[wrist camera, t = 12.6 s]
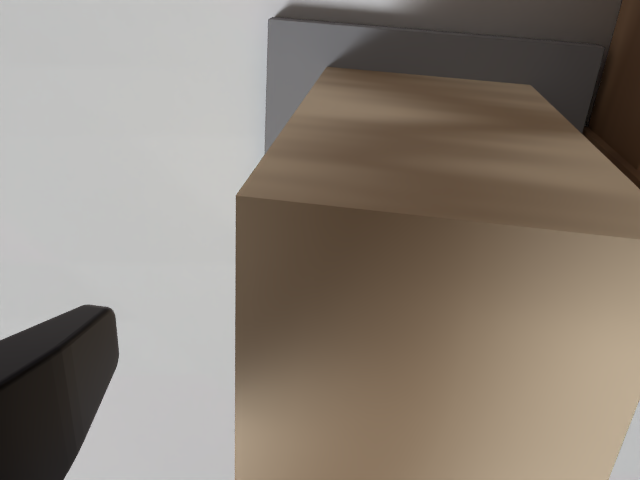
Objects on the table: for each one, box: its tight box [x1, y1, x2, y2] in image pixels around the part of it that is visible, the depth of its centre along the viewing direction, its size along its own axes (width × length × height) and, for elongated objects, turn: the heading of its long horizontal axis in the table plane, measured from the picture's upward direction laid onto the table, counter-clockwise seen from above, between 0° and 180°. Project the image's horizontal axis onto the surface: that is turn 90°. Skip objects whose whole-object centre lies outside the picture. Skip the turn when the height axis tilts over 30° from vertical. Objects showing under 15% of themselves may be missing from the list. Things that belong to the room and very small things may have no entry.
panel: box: [265, 17, 605, 154], centre depth 16 cm, size 8×8×1 cm
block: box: [235, 67, 640, 480], centre depth 12 cm, size 5×6×9 cm
